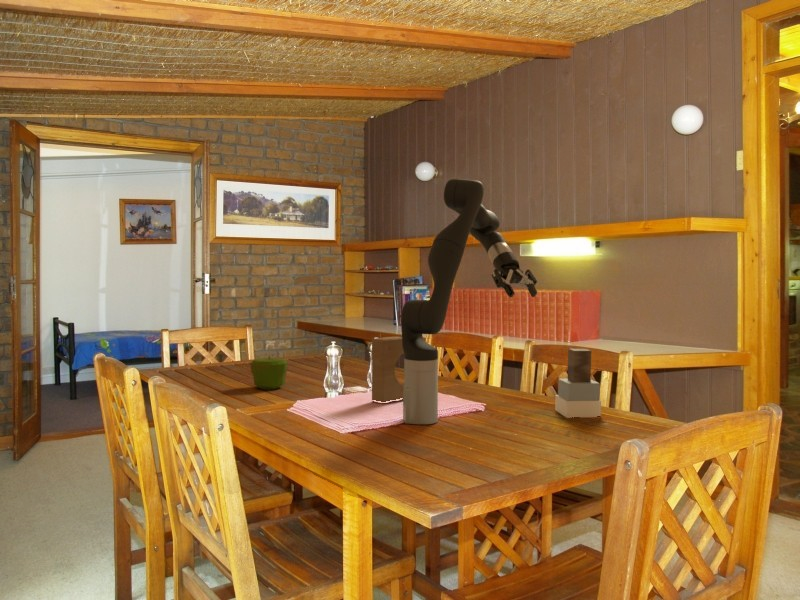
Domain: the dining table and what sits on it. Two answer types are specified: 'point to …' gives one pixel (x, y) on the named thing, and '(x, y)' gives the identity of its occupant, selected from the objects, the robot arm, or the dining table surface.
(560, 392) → the tower top
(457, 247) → the robot arm
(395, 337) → the decorative block
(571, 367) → the oak pillar
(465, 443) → the dining table surface
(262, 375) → the apple
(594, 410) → the tower base
